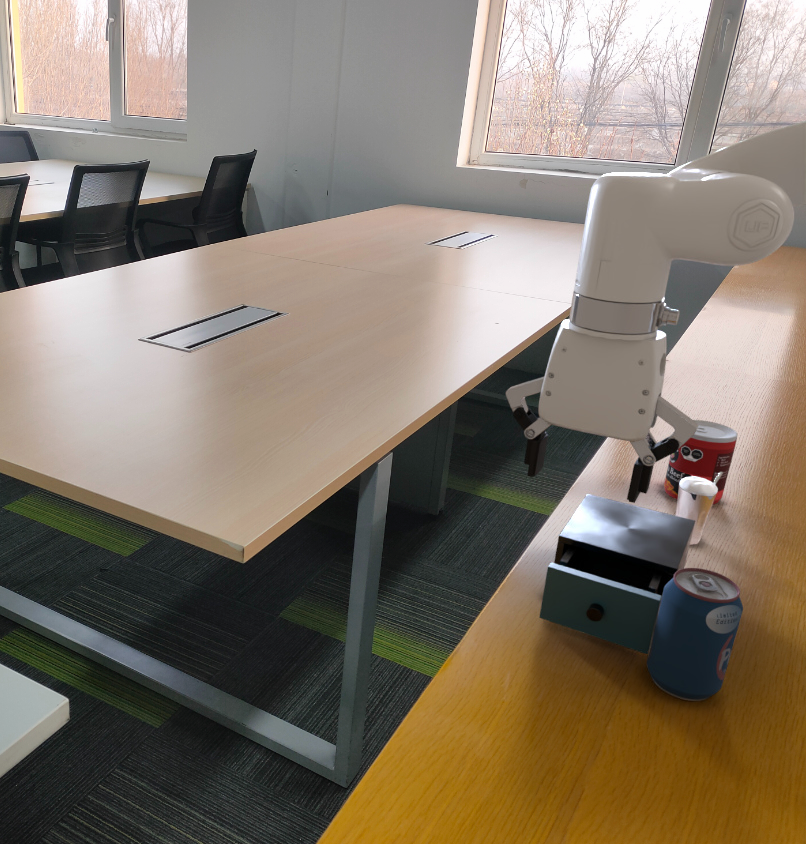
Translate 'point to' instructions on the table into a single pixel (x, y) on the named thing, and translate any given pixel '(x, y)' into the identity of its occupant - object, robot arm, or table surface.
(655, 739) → the table surface
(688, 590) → the soda can
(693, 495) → the milkshake
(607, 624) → the drawer
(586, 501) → the cabinet
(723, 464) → the canned food
